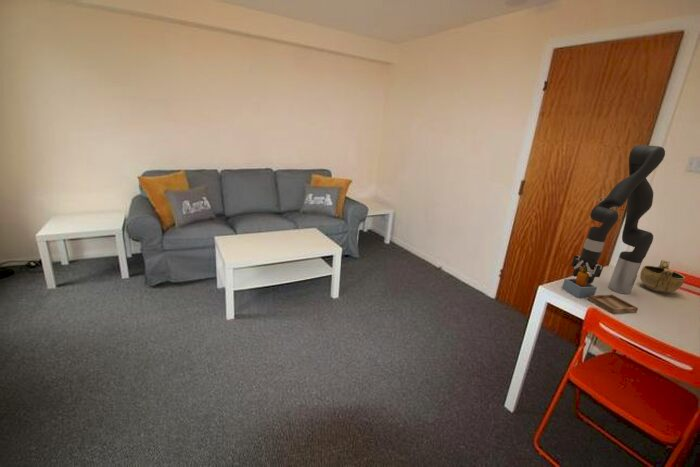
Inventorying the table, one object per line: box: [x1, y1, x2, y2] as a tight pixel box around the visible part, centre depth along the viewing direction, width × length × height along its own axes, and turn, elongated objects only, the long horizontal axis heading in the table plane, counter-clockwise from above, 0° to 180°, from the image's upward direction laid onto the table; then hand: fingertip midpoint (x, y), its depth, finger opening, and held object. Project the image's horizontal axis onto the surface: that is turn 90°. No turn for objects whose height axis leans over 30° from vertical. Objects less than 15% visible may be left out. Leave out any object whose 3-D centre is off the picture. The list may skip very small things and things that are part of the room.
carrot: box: [575, 266, 592, 287], centre depth 164 cm, size 5×5×15 cm
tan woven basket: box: [639, 259, 686, 294], centre depth 178 cm, size 22×17×15 cm
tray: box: [587, 294, 639, 315], centre depth 156 cm, size 14×12×2 cm
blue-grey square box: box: [561, 278, 598, 299], centre depth 166 cm, size 10×10×6 cm
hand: (581, 279), depth 164 cm, fingers open, 7 cm apart
